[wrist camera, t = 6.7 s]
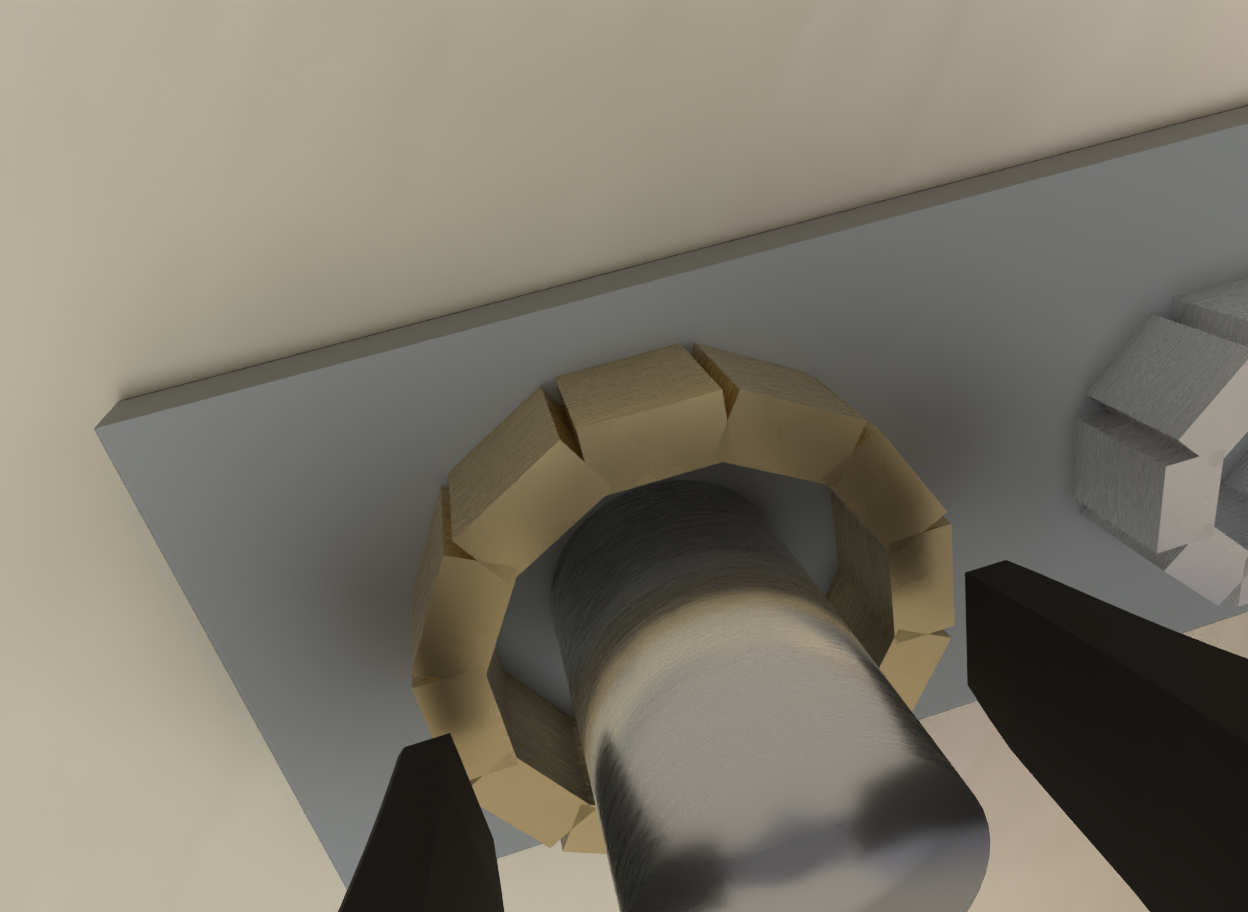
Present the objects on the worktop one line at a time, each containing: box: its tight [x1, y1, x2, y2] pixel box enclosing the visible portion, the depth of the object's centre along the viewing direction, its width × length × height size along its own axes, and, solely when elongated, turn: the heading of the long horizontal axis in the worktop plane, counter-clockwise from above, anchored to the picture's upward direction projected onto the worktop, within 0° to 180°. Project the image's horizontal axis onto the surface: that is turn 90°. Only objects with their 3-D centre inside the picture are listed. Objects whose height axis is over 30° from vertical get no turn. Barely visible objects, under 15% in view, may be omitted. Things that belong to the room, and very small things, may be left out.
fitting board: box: [94, 106, 1248, 890], centre depth 15 cm, size 22×10×1 cm, turn 102°
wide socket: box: [411, 343, 955, 854], centre depth 13 cm, size 8×8×2 cm
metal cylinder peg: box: [550, 480, 990, 912], centre depth 11 cm, size 4×4×6 cm
